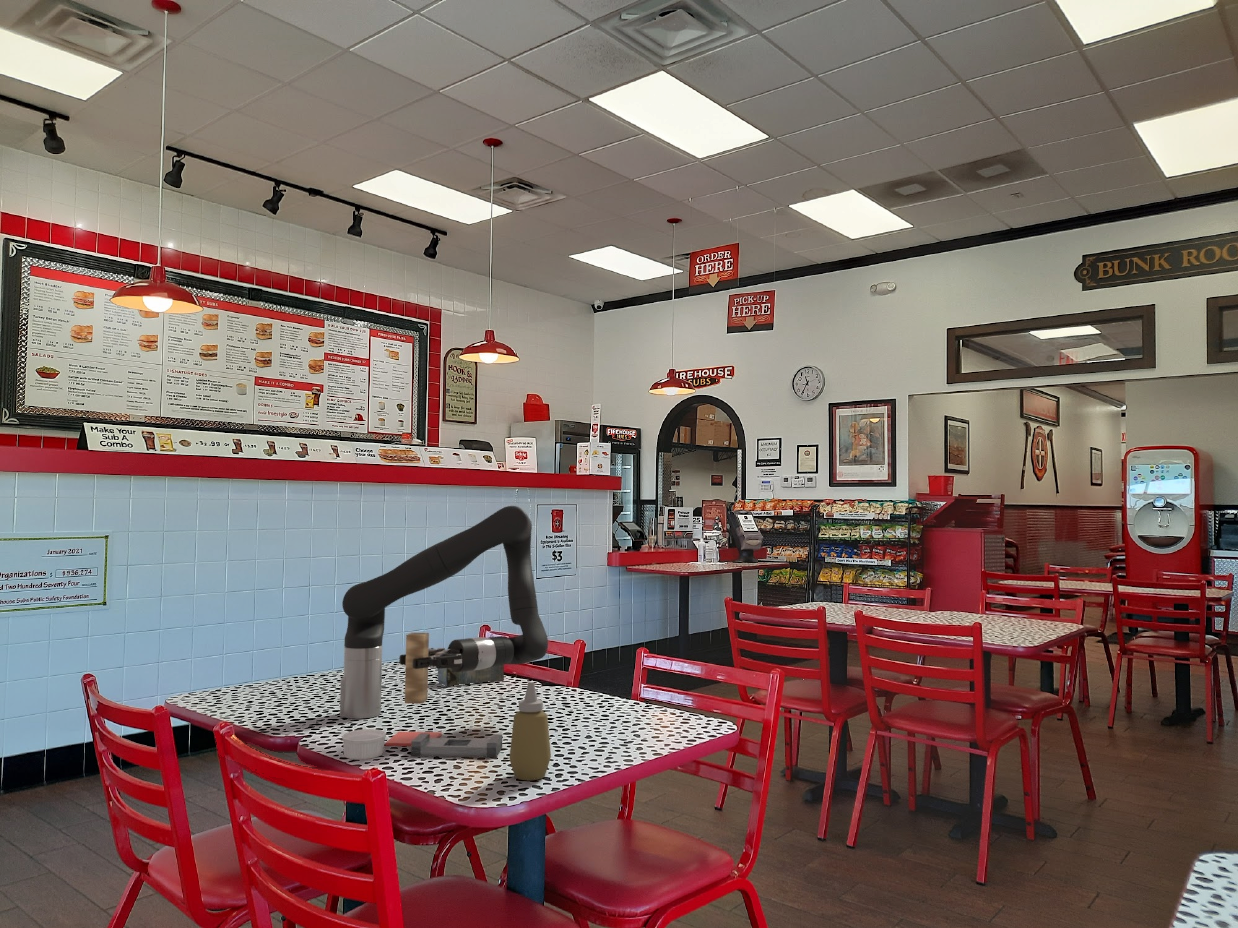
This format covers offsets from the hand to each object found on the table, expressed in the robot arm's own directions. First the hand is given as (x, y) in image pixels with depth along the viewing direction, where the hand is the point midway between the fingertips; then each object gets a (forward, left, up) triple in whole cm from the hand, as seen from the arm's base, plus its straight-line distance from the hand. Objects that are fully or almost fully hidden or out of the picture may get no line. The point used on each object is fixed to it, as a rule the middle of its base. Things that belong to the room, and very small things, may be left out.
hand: (407, 661), depth 189 cm
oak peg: (+2, +2, -9) cm, 9 cm away
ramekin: (-6, -9, -18) cm, 21 cm away
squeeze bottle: (+31, -22, -18) cm, 42 cm away
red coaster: (+1, +3, -18) cm, 18 cm away
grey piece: (+13, -6, -18) cm, 23 cm away
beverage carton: (-1, +70, -18) cm, 72 cm away
